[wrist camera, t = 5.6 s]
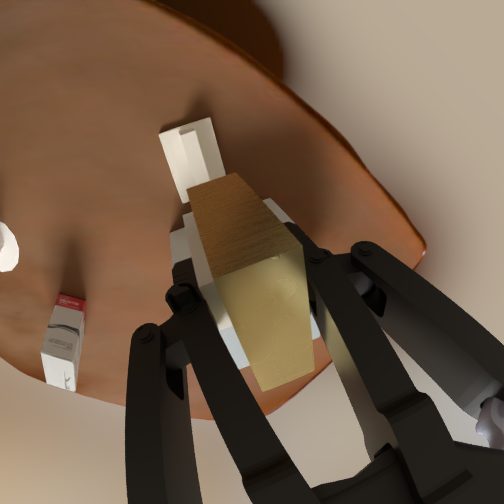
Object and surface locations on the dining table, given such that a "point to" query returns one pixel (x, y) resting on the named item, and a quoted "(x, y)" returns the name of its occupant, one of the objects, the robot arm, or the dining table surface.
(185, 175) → the token stand
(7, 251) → the figurine
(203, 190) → the block
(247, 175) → the dining table surface
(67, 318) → the ink box
